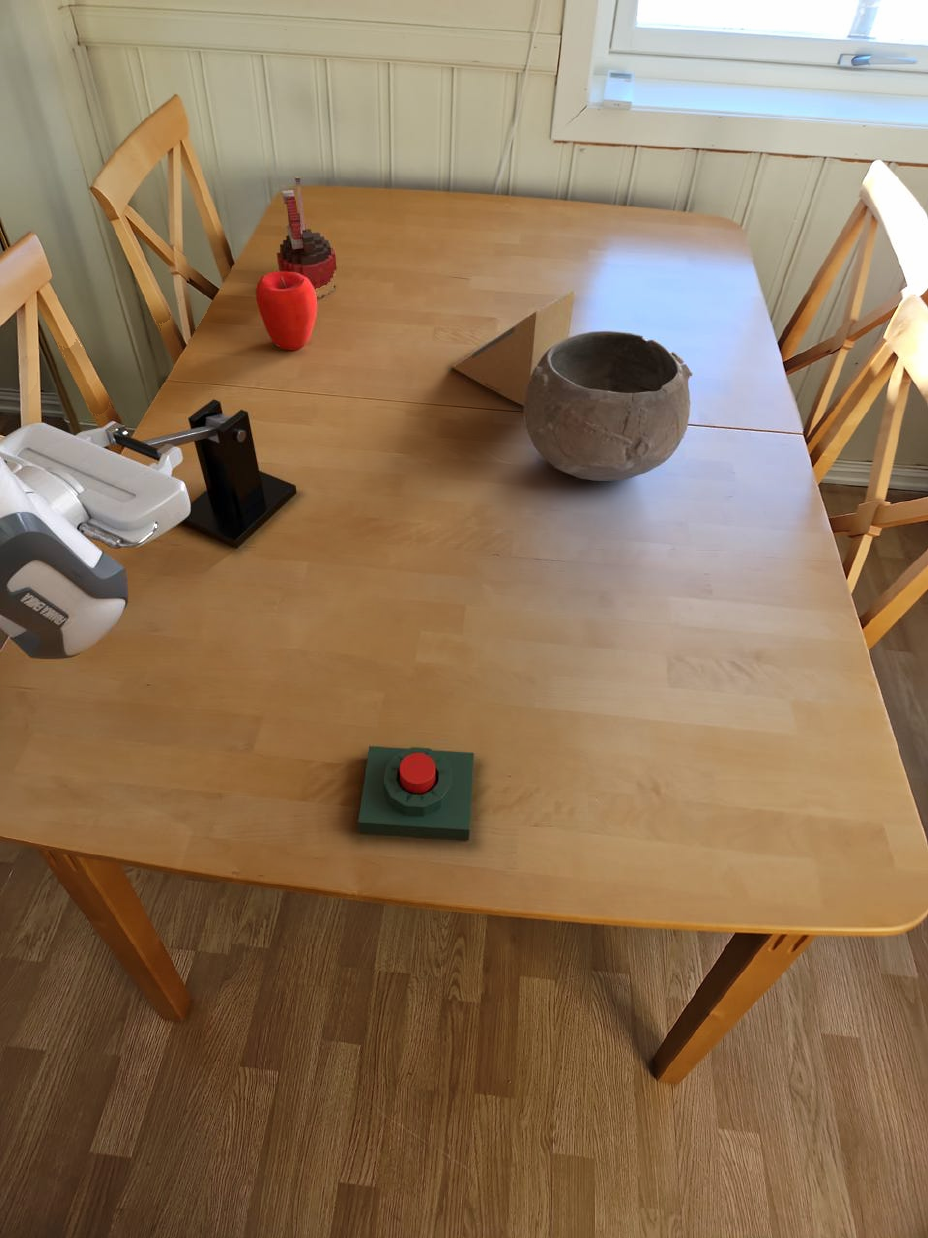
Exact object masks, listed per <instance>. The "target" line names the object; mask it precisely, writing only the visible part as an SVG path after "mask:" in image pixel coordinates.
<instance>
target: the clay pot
mask: <svg viewBox="0 0 928 1238" xmlns="http://www.w3.org/2000/svg"><path fill="white" fill-rule="evenodd" d="M691 377H693V372H692V371H691V370H690V368H689V367H688V365H687V364H686V363H685V361H684V359H683V358H681V357H680V356H679V355H678V354H677V353H676V352H674V351H672V352H670V351H669V350H667V348H666V347H665V346H663V345H662V344H661V343H659V342H657V341H655V340H654V339H649V340H648V339H646V338H644V337H643V335H640V334H636V333H633V332H625V331H624V332H623V331H618V330H617V331H616V330H598V331H597V330H596V331H588V332H583V333H579V334H575V335H571V336H569V337H568V338H566V339H564V340H562V341H560V342H558V343H556V344H555V345H554V346H553V347H551V348H550V349H549V350H548V351H547V352H546V353H545V354H544V355H543V357H542V358H541V360H540V361H539V363H538V365H537V366H536V367H535V369H534V371H533V373H532V375H531V380H530V382H529V385H528V387H527V392H526V396H525V401H524V406H523V419H524V425H525V429H526V432H527V434H528V436H529V438H530V440H531V443H532V444H533V447H534V448H535V449H536V451H538V453H539V454H540V456H542V458H544V459H545V460H546V461H547V462H548V463H549V464H550V465H551V466H552V467H554V468H555V469H556V470H558V471H560V472H562V473H564V474H568V475H570V476H573V477H575V478H577V479H581V480H588V481H589V480H590V481H594V482H609V481H610V482H611V481H612V482H613V481H621V480H628V479H631V478H634V477H637V476H641V475H644V474H646V473H648V472H650V471H652V470H654V469H656V468H658V467H660V466H661V465H663V464H664V463H665V462H667V461H668V459H670V457H671V456H672V455H674V453H675V451H676V450H677V449H678V447H679V445H680V443H682V442H681V441H682V440H683V439H684V438H685V434H686V432H687V430H688V426H689V420H690V415H691V397H690V394H691V393H690V386H689V385H690V384H689V379H690V378H691Z"/></svg>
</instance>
